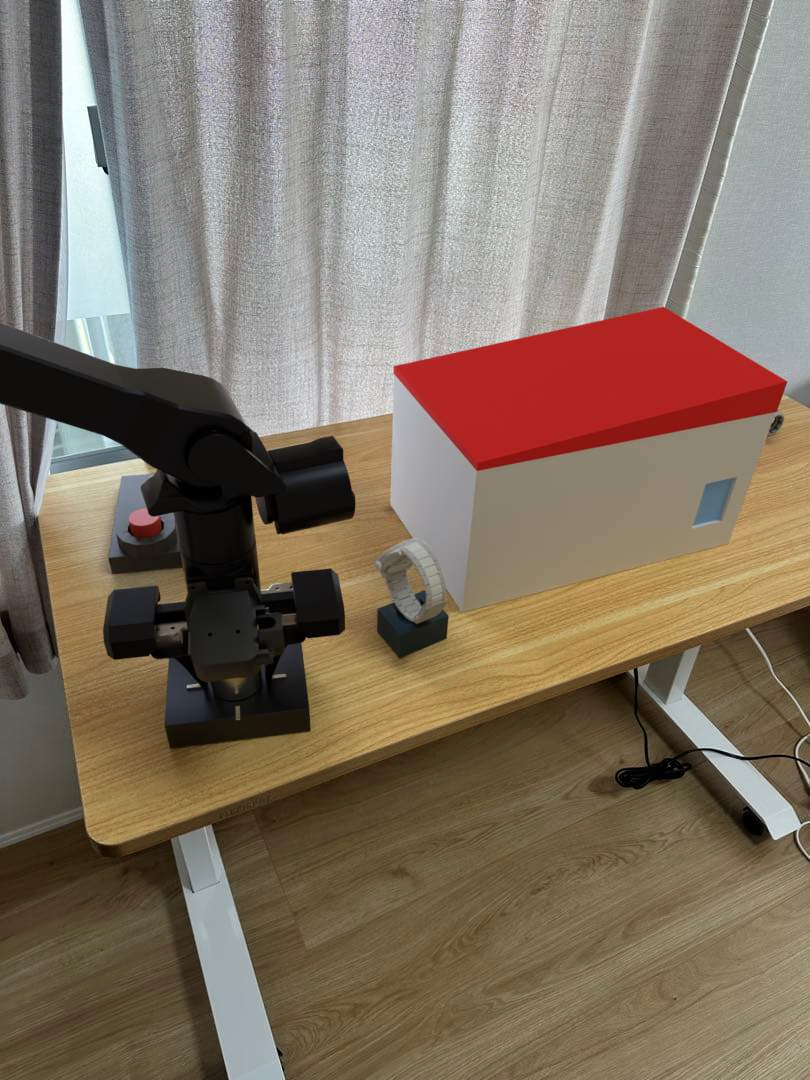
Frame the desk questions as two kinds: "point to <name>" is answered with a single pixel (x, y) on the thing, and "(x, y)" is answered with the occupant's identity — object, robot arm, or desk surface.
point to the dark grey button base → (141, 551)
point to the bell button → (144, 524)
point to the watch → (412, 599)
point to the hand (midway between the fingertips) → (237, 681)
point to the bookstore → (576, 452)
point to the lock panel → (237, 706)
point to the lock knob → (237, 687)
